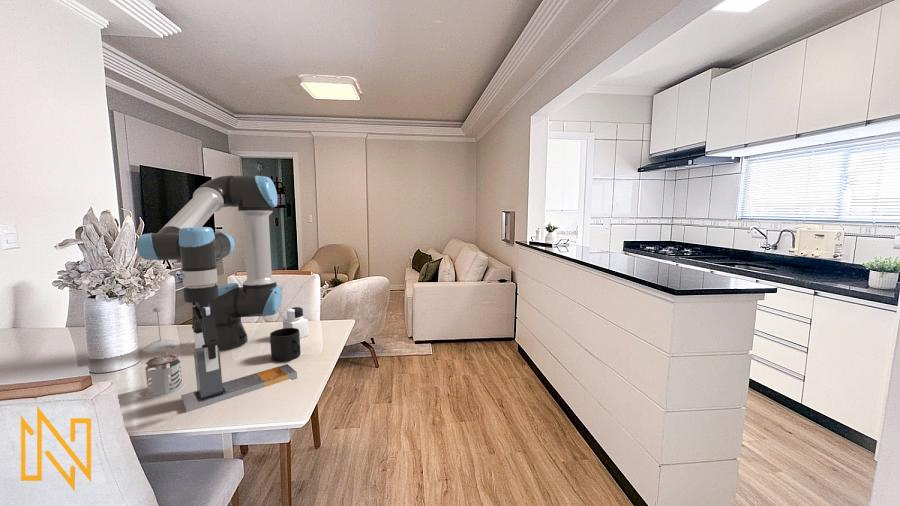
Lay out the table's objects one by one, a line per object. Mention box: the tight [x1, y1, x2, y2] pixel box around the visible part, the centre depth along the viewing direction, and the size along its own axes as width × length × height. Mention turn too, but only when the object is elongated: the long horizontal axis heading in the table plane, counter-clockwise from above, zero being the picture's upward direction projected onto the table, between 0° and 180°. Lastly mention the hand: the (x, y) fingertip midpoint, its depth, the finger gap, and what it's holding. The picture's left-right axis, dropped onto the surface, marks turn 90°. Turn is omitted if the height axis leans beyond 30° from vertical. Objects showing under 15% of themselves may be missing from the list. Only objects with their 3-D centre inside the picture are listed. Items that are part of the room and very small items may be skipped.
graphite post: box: [193, 347, 223, 401], centre depth 97 cm, size 5×5×14 cm
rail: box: [180, 363, 298, 413], centre depth 103 cm, size 8×28×2 cm, turn 134°
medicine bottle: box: [282, 306, 310, 339], centre depth 145 cm, size 7×7×12 cm
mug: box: [269, 327, 301, 363], centre depth 125 cm, size 9×12×9 cm
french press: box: [142, 306, 186, 399], centre depth 101 cm, size 10×12×25 cm
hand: (206, 362), depth 96 cm, fingers open, 13 cm apart
